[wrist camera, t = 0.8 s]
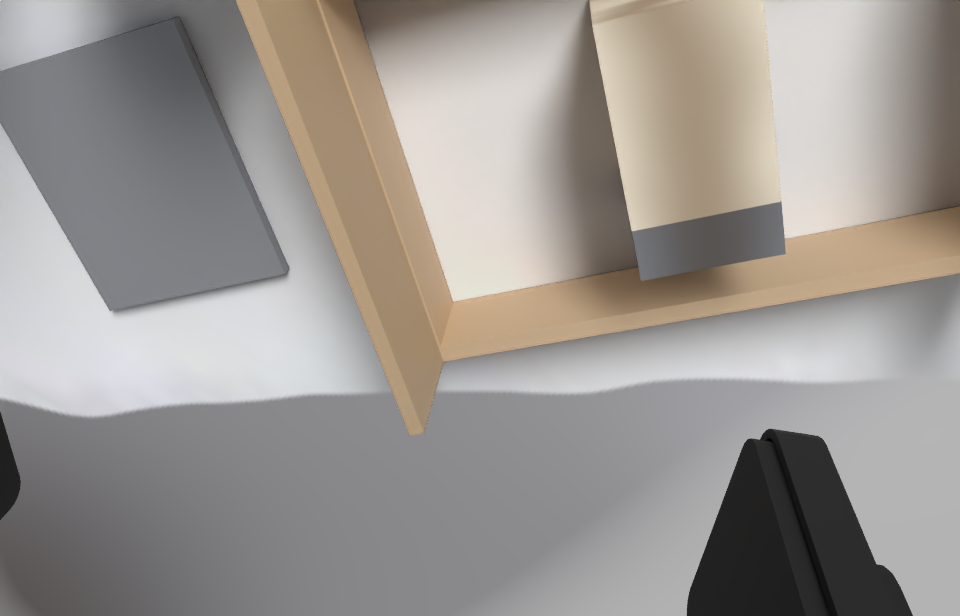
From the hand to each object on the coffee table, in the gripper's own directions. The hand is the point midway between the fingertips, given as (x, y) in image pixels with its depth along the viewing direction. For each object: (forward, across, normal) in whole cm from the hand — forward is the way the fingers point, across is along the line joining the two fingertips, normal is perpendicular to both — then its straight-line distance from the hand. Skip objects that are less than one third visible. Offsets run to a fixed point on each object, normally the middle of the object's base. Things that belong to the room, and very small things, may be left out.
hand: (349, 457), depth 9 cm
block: (+25, -7, +1) cm, 26 cm away
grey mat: (+24, +16, +8) cm, 30 cm away
